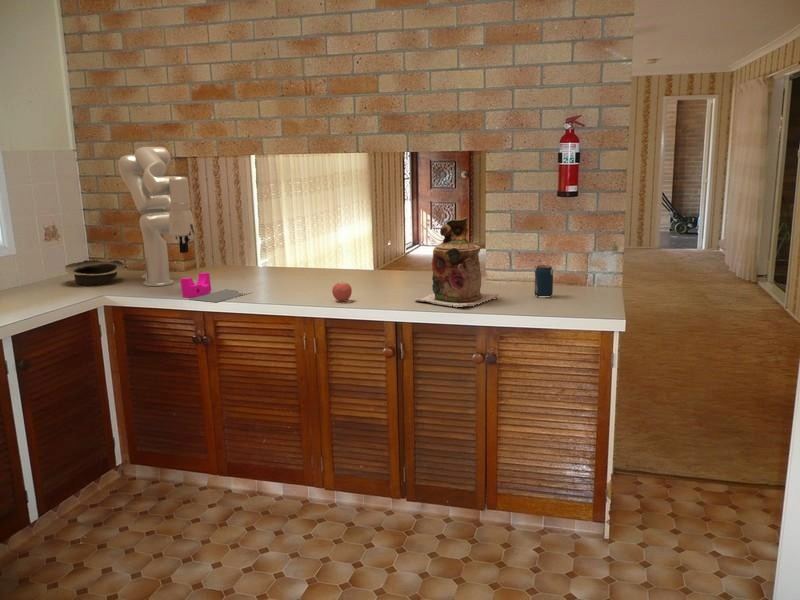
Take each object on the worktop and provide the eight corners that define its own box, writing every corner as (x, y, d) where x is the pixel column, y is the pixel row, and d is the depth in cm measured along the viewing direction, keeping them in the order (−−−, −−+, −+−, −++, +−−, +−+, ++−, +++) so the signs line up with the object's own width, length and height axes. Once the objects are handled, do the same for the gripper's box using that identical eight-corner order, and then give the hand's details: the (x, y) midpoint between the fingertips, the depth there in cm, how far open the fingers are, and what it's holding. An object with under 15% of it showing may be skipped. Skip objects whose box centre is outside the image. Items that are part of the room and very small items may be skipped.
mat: (188, 299, 276) (188, 299, 276) (226, 290, 296) (226, 289, 295) (216, 302, 270) (216, 301, 270) (252, 292, 289) (252, 291, 289)
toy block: (196, 297, 280) (193, 278, 278) (182, 297, 281) (180, 279, 280) (216, 290, 294) (214, 272, 292) (203, 290, 295) (201, 272, 294)
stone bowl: (98, 275, 334) (97, 256, 332) (137, 283, 324) (136, 263, 322) (53, 283, 312) (52, 263, 310) (93, 292, 302) (92, 271, 300)
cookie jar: (449, 292, 286) (449, 213, 279) (501, 299, 270) (502, 216, 264) (411, 302, 267) (410, 218, 260) (465, 310, 252) (465, 221, 245)
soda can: (555, 296, 274) (556, 266, 271) (546, 299, 269) (546, 268, 266) (540, 294, 278) (541, 264, 276) (530, 296, 274) (531, 266, 271)
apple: (354, 299, 273) (353, 279, 271) (348, 303, 266) (348, 282, 264) (336, 299, 274) (335, 279, 273) (330, 302, 267) (329, 282, 266)
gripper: (160, 208, 284) (164, 253, 287) (187, 208, 277) (191, 254, 281) (173, 207, 290) (177, 251, 294) (201, 207, 284) (204, 252, 287)
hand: (184, 252), depth 287 cm, fingers closed
